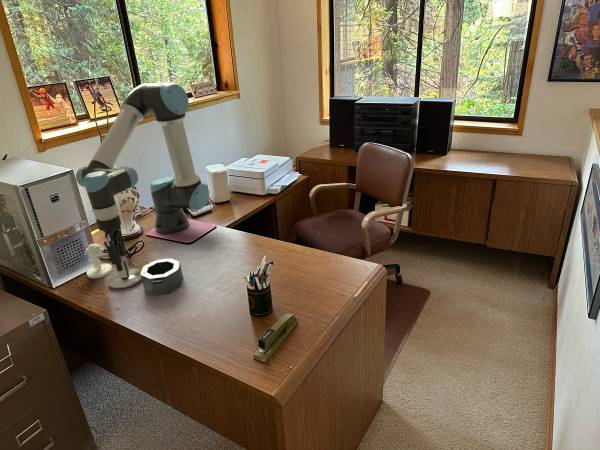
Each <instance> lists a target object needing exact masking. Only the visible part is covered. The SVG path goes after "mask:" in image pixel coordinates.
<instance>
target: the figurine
mask: <svg viewBox="0 0 600 450" xmlns="http://www.w3.org/2000/svg"><path fill="white" fill-rule="evenodd" d="M104 250H105V248H103V245H100V244H98V243H90V244H89V245H88V247H86V248H85V252H84V256H85V255H87V254H88V256H89V259H88V263H90V264H91V267H90V268H89V269H87V270H86V276H87V277H88V278H90V279H99V278H100V279H101V278H103V277H106V276H107V275H109V274H111V272H112V271H113V266H112V264H110V263H105V262H102V261H101V259H100V257H101V256H102V255H104V254H105V253H104ZM92 262H93V264H92Z"/></svg>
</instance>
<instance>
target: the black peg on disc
mask: <svg viewBox="0 0 600 450" xmlns="http://www.w3.org/2000/svg"><path fill="white" fill-rule="evenodd" d="M123 263H124V266H125V270H126V273H127V277H125V278H119V276H118V272H117V271H116V272H115V273H114V274H112V275H110V277H109V278H108V279H107V283H108V285H109V287H110V288H111V289H115V290H117V289H127V288H130V287H132V286H135V285H137V284H138V283H139V282H141V281H142V279H141V275H140V274H141V272H142V269H139V268H129V272H128V269H127V266H126V262H125V261H123Z"/></svg>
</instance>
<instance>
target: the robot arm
mask: <svg viewBox="0 0 600 450" xmlns="http://www.w3.org/2000/svg"><path fill="white" fill-rule="evenodd" d="M189 103H190V102H189V97H188V93H187V92H186V90H185V89H184V88H183V87H182V86H181V85H180V84H178V83H174V82H173V83H171V82H158V83H147V82H146V83H142V84H139V85H138V86H136V87H134V89H132V90H131V91H130V92H129V93H128V94H127V96H126V97H125V98H124V99H123V101H122V103H121V104H120V105H119V108H118V109H119V112H118V115H117V116H116V117H115V120H114V121H113V123H112V125H111V126H110V127H109V129H108V131H107V133H106V135H105V137H104V138H103V139H102V142H101V143H100V144H99V146H98V148H97V150H96V152H95V153H94V155H93V157H92V158H91V160H90V162H89V163H88V165H87V166H82V167H80V168H78V170H77V171H76V174H75V180H76V182H77V184H78V185H79V186H81V187H83V188H85V191H86V193H87V194H86V195H87V197H88V200H89V203H90V206H91V208H92V209H91V212H92V213H93V215H94V218H95V219H96V220H95V222H96V226H97V229H98V230H99V231H101V232H104V238H105V239H106V240H105V241H103V244H104V246H105V249H106V251H107V253H108V257H109V259H110V262H111V266H112V265H114V266H115V268H116V273H117V272H118V276H119V278H125V277H127V273H126V270H125V266H124V263H123V261H125V262H126V266H127V269H128V272H129V269H130V268H129V264H128V260H127V258H126V256H127V255H128V252H127V251H126V250H127V249H126V246H125V240H124V237H123V233H122V227H121V225H122V220H121V217H120V214H119V209H118V206H117V203H116V200H115V196H117V195H118V194H120V193H122V192H125V191H127V190H129V189H131V188H132V187H134V186H136V185H137V184H138V181H139V175H138V172H137V170H135V168H133V167H132V166H130V165H126V166H121V167H119V168H114V166H115V164H116V162H117V161H118V159H119V157H120V156H121V154H122V152H123V150H124V149H125V147H126V145H127V144H128V141H130V140H129V139H130V138H131V136H132V135H133V132H135V129H136V128H137V126H138V125H139V123H142V122H143V121H144V119H145V117H147V116H148V115H154V116H155V117H154V118H155V121H156V122H157V123H158V124H160V125H161V128H162V129H161V130H162V132H163V136H164V139H165V144H166V147H167V150H168V151H167V152H168V155H169V159H170V162H171V163H170V164H171V166H172V170H173V174H174V176H166V177H162V178H158V179H156V180H153V181H152V182H151V183H150V186H149V188H150V195H151V198H152V201H153V207H154V210H155V219H154V220H155V221H154V227H155V228H154V229H155V231H156V233H157V232H158V233H160V234H172V233H178V232H180V231H183V230H184V229H186V228H187V227H188V226H189V219H188V217H187V215H186V213H185V212H184V210H191V211H193V210H195V211H196V210H198V211H199V210H202V209H203V208H204V207H206V205H207V203H208V201H209V196H210V189H209V186H208V185H207V184H205V183H202V180H201V176H200V175H198V174H196V169H195V166H194V162H193V161H194V160H193V157H192V154H191V148H190V144H189V141H188V136H187V132H186V129H185V125H184V119H185V118H186V113H187V111H188V109H189ZM183 209H184V210H183Z"/></svg>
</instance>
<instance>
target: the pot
mask: <svg viewBox="0 0 600 450" xmlns="http://www.w3.org/2000/svg"><path fill="white" fill-rule="evenodd" d="M141 271H142V272H141V274H140V275H141V281H142V285H143V290H144V292H146V293H148V294H150V295H152V296H154V297H156V296H162V295H171V294H172V293H173V292H175V291H177V290H178V289H180V288H181V286H183V282H184V276H183V271H182V266H181V262H180V261H179V260H175V259H174V258H171V257H170V258H164V259H163V258H162V259H156V260H154V261H151V262H150V263H148V264H146V265H144V266H142V269H141Z"/></svg>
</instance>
